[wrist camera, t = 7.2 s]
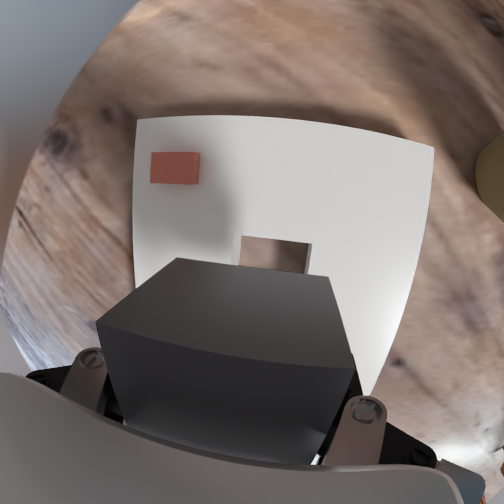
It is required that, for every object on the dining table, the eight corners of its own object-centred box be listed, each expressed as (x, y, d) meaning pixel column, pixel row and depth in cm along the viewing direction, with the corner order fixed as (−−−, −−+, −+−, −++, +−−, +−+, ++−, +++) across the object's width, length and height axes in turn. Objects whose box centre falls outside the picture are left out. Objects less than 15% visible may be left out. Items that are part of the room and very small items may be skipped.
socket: (416, 150, 16) (441, 146, 13) (363, 374, 22) (371, 403, 18) (157, 125, 19) (129, 117, 15) (159, 343, 25) (140, 367, 21)
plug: (200, 239, 13) (95, 321, 5) (320, 254, 12) (355, 368, 5) (200, 380, 15) (153, 482, 8) (291, 395, 15) (282, 509, 7)
